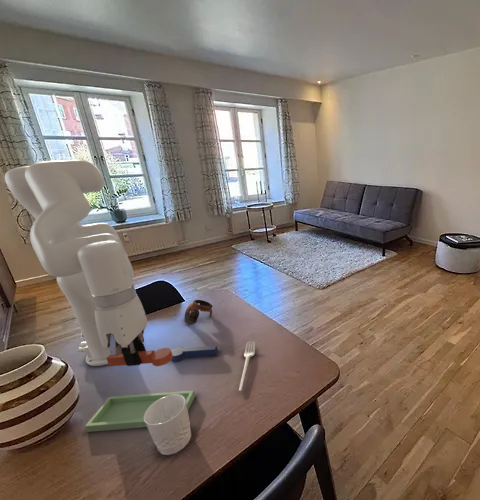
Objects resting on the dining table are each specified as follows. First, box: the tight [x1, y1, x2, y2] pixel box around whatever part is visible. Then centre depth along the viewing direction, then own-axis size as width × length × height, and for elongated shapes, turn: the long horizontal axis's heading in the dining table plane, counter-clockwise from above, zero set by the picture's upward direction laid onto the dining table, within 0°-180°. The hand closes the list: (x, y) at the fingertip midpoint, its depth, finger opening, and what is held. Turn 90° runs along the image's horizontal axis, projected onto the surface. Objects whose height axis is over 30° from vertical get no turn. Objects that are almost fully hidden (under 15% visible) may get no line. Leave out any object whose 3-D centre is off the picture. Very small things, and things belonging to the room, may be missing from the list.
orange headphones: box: [183, 299, 213, 325], centre depth 113 cm, size 12×10×8 cm
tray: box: [84, 390, 196, 433], centre depth 74 cm, size 22×9×2 cm, turn 95°
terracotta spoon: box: [106, 347, 173, 367], centre depth 72 cm, size 14×4×2 cm, turn 95°
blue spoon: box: [171, 345, 219, 362], centre depth 94 cm, size 14×4×2 cm, turn 95°
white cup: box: [144, 394, 192, 456], centre depth 66 cm, size 8×8×10 cm
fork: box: [238, 340, 256, 393], centre depth 89 cm, size 3×20×2 cm, turn 9°
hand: (137, 360), depth 73 cm, fingers closed on terracotta spoon, 1 cm apart
